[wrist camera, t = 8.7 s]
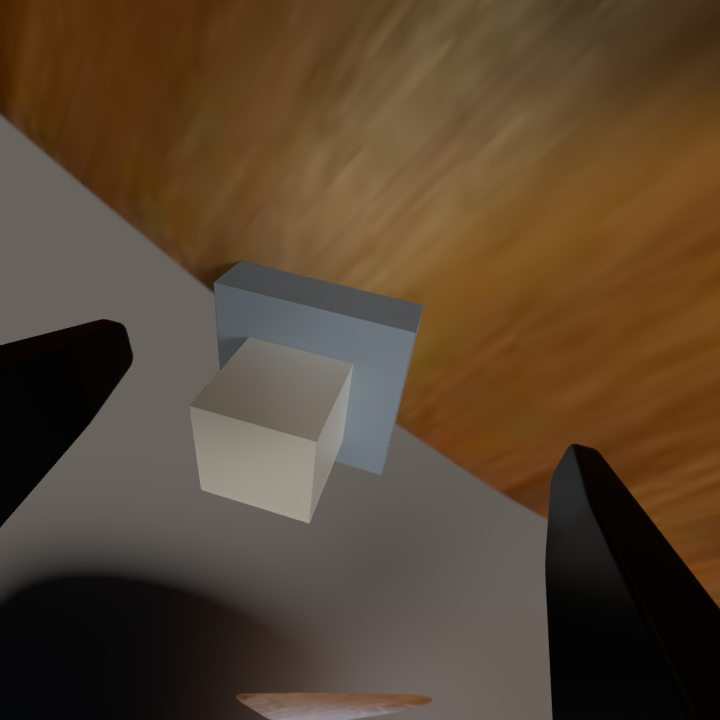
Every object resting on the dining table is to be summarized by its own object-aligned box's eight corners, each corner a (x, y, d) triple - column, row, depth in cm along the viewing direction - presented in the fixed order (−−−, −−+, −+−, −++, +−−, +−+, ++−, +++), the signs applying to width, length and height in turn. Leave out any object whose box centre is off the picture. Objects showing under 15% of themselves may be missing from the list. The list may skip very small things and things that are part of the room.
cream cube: (353, 363, 20) (316, 442, 16) (342, 440, 23) (309, 523, 19) (249, 336, 21) (189, 405, 17) (251, 415, 24) (201, 489, 20)
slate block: (425, 300, 21) (415, 333, 18) (392, 436, 26) (381, 475, 24) (245, 257, 22) (213, 282, 20) (248, 395, 27) (224, 428, 25)
